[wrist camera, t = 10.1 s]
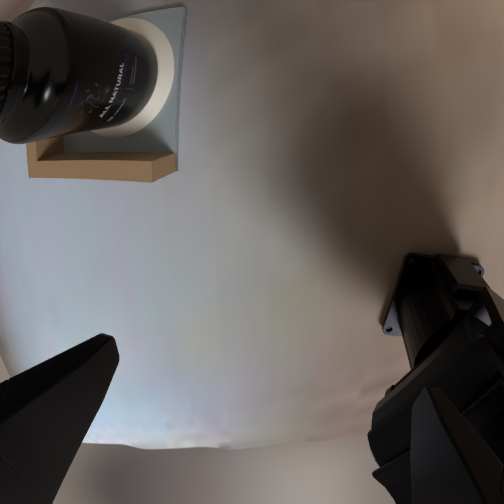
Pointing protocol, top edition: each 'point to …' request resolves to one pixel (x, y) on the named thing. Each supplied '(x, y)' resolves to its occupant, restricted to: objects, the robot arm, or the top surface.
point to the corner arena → (136, 130)
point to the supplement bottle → (70, 75)
